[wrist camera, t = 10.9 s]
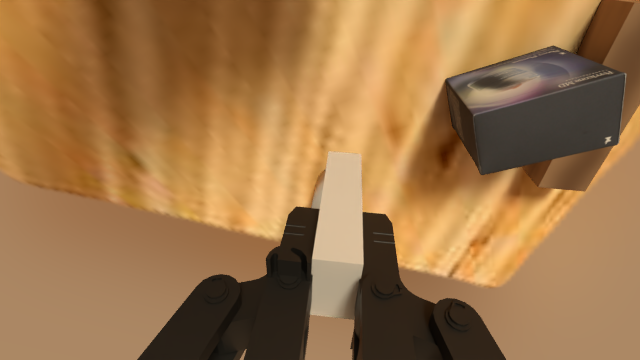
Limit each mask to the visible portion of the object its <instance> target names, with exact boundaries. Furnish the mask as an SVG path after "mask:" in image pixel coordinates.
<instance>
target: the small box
mask: <svg viewBox="0 0 640 360" xmlns="http://www.w3.org/2000/svg"><path fill="white" fill-rule="evenodd" d="M626 75H627V74H626V73H624V72H620V71H617V70H615V69H612V68H610V67H607V66H605V65H602V64H599V63H597V62H594V61H592V60H589V59H586V58H584V57H581V56H579V55H576V54H573V53H571V52H568V51H566V50H563V49H561V48H558V47H556V46H551V47H547V48H544V49H541V50H538V51H535V52H531V53H528V54H525V55H522V56H518V57H515V58H512V59H508V60H505V61H502V62H499V63H496V64H492V65H489V66H486V67H482V68H479V69H476V70H473V71H470V72H466V73H463V74H460V75H457V76H453V77H450V78H447V79H446V80H445V82H446V89H447V95H448V102H449V108H450V114H451V121H452V127H453V128H454V130H456V132H457V134H458V135H459V137H460V139H461V140H462V142H463V144H464V146H465V147H466V149H467V151H468V152H469V154H470V156H471V157H472V159H473V160H474V162H475V164H476V166H477V167H478V170H479V172H480V174H481V175H485V174H490V173H494V172H499V171H503V170H508V169H512V168H516V167H521V166H525V165H530V164H534V163H539V162H543V161H548V160H552V159H556V158H561V157H566V156H570V155H574V154H579V153H583V152H588V151H592V150H597V149H601V148H605V147H610V146H615V145H617V144H618V143H619V139H620V128H621V121H622V110H623V102H624V93H625V84H626Z"/></svg>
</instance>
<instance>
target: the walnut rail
mask: <svg viewBox="0 0 640 360" xmlns="http://www.w3.org/2000/svg"><path fill="white" fill-rule="evenodd" d="M576 55H579V56H581V57H584V58H586V59H589V60H592V61H594V62H597V63H599V64H602V65H605V66H607V67H610V68H612V69H615V70H617V71H620V72H624V73H626V74H627V75H626V84H625V93H624V102H623V110H622V121H621V128H620V135H621V133H622V132H623V130H624V129H625V127H626V125H627V124H628V122H629V121H630V119H631V117H632V116H633V114H634V113H635V111H636V109H637V108H638V106H639V105H640V0H602V1H601V3H600V5H599V7H598V9H597V11H596V14H595V16H594V18H593V20H592V22H591V24H590V26H589V28H588V31H587V33H586V35H585V37H584V39H583V41H582V43H581V45H580V48H579V50H578V52H577V54H576ZM612 148H613V146H610V147H605V148H601V149H597V150H592V151H588V152H583V153H579V154H574V155H570V156H566V157H561V158H556V159H552V160H548V161H543V162H539V163H534V164H530V165H525V166H524V167H523V169H524V170H525V172H526V173H527V174H528V175H529V177H530V178H531V179H532V180H533V181H534V183H535V184H536V185H537V186H538V187H542V188H554V189H565V190H576V191H586V189H587V187H588V186H589V184H590V183H591V181H592V179H593V178H594V176H595V175H596V173H597V171H598V170H599V168H600V167H601V165H602V163H603V162H604V160H605V159H606V157H607V156H608V154H609V152H610V151H611V149H612Z"/></svg>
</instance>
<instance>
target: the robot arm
mask: <svg viewBox="0 0 640 360" xmlns="http://www.w3.org/2000/svg"><path fill="white" fill-rule="evenodd" d="M393 234H394V233H393V226H392V223H391V221H390V220H389V218H388V217H387V216H386V214H376V213H366V212H362V170H361V154H355V153H344V152H332V151H329V152H328V159H327V165H326V172H325V178H324V185H323V191H322V198H321V204H320V209H316V208H305V207H295V208H294V210H293V211H292V212H291V213H290V214H289V215H288V219H287V223H286V226H285V230H284V234H283V237H282V241H281V244H280V246H278V247H276V248H274V249H273V250H272V251H270V252H269V254H268V256H267V258H266V266H267V274H266V275H265V276H263V277H261V278H259V279H256V280H252V281H247V282H241V283H238V282H237V281H236V279H234V278H233V277H231V276H229V275H223V274H220V275H214V276H211V277H209V278H207V279H205V280H203V281H202V282H201V283H200V284H199V285H198V286H197V287H196V288H195V289H194V290H193V292H192V293H191V294H190V295H189V297H188V298H187V299H186V300H185V301H184V303H183V304H182V305H181V306H180V308H179V309H178V310H177V311H176V313H175V314H174V315H173V316H172V317H171V319H170V320H169V321H168V322H167V324H166V325H165V326H164V327H163V329H162V330H161V331H160V332H159V333H158V335H157V336H156V337H155V339H154V340H153V341H152V342H151V343H150V345H149V346H148V347H147V349H146V350H145V351H144V352H143V353H142V355H141V356H140V357H139V358H138V359H137V360H240V358H241V356H242V354H243V352H244V350H245V349H247V350H246V354H245V357H244V360H305V354H306V346H307V339H308V329H309V317H310V315H318V316H326V317H336V318H344V319H354V316H355V319H354V321H355V323H354V332H353V337H352V343H351V348H350V349H353V355H352V357H353V358H352V360H506V358H505V357H504V355H503V354H502V352H501V350H500V349H499V347H498V345H497V344H496V342H495V340H494V339H493V337H492V336H491V334H490V332H489V331H488V329H487V327H486V325H485V324H484V322H483V321H482V319H481V317H480V316H479V315H478V313H477V312H476V311H475V310H474V309H473V308H472V307H471V306H469V305H468V304H466V303H465V302H462V301H460V300H457V299H450V298H446V299H443V300H440V301H439V302H438V303H437V304H434V303H432V302H429V301H427V300H424V299H422V298H419V297H417V296H415V295H414V294H412V293H411V292H410V291H408V290H407V288H406V287H405V286H404V285H403V283H402V282H401V280H400V276H399V270H398V263H397V255H396V248H395V241H394V236H393Z"/></svg>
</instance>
